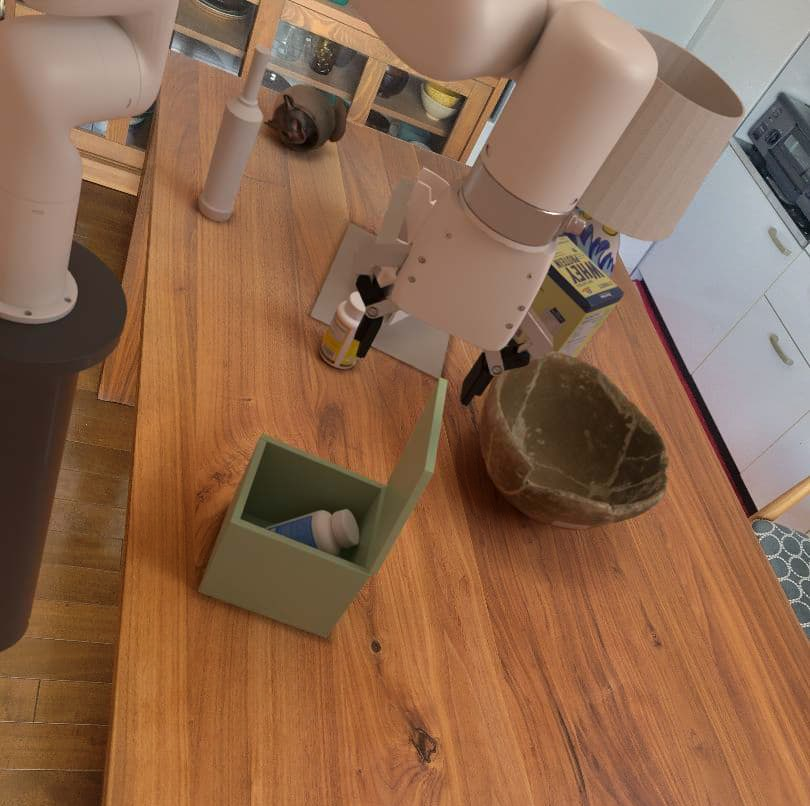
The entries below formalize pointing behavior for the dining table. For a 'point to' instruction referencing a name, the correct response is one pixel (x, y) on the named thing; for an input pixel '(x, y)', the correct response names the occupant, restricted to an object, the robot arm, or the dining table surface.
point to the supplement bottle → (343, 333)
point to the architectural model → (391, 276)
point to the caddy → (283, 557)
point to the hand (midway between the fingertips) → (414, 371)
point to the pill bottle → (321, 530)
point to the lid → (409, 476)
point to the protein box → (572, 299)
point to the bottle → (234, 143)
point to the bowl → (570, 445)
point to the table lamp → (658, 155)
